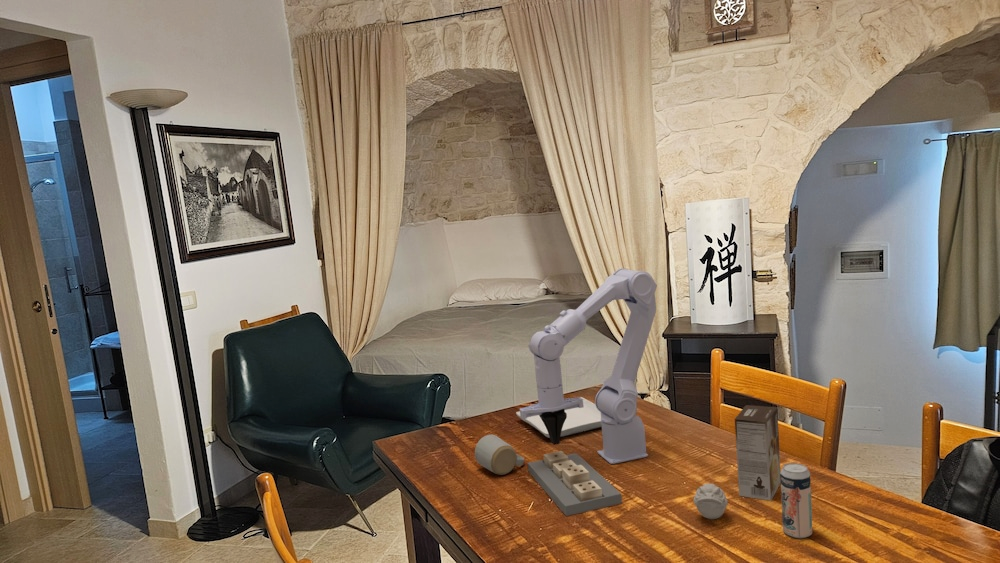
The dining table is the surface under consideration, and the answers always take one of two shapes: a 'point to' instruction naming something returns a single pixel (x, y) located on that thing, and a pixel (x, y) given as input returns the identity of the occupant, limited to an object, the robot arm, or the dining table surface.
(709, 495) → the frog figurine
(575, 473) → the beige small block
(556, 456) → the key
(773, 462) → the coffee box
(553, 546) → the dining table surface
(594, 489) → the beige square block
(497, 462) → the ceramic mug
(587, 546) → the dining table surface
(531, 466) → the grey slotted tray
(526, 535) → the dining table surface
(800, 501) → the beer can
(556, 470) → the cream dice block
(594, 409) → the salad plate
